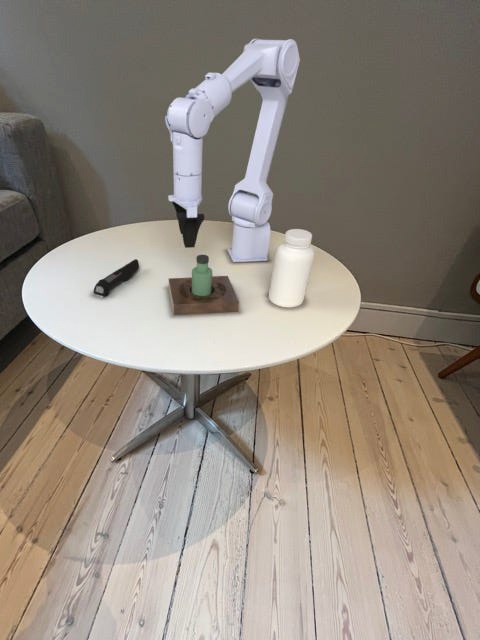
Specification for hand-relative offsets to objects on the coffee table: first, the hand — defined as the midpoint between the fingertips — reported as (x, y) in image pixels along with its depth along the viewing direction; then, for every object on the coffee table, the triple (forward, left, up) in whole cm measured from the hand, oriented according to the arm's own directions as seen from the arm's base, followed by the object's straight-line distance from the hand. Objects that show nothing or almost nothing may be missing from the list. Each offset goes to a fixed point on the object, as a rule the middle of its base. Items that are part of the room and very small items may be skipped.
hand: (187, 240), depth 86 cm
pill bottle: (-21, +10, -10) cm, 26 cm away
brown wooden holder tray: (-2, +8, -10) cm, 13 cm away
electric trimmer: (+17, -2, -11) cm, 20 cm away
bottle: (-2, +8, -10) cm, 13 cm away
